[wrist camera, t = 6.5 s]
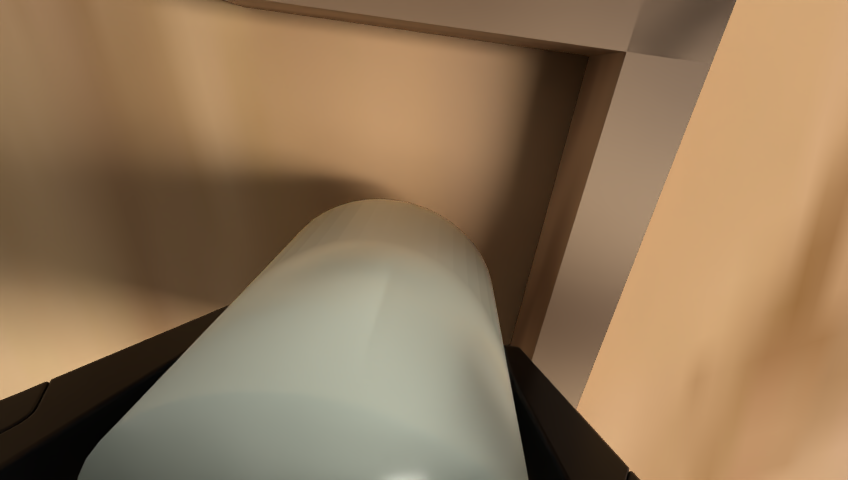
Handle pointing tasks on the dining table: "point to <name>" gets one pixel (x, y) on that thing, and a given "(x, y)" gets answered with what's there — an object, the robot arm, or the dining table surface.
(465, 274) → the white rounded canister
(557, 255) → the dock
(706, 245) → the dining table surface
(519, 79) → the dining table surface
